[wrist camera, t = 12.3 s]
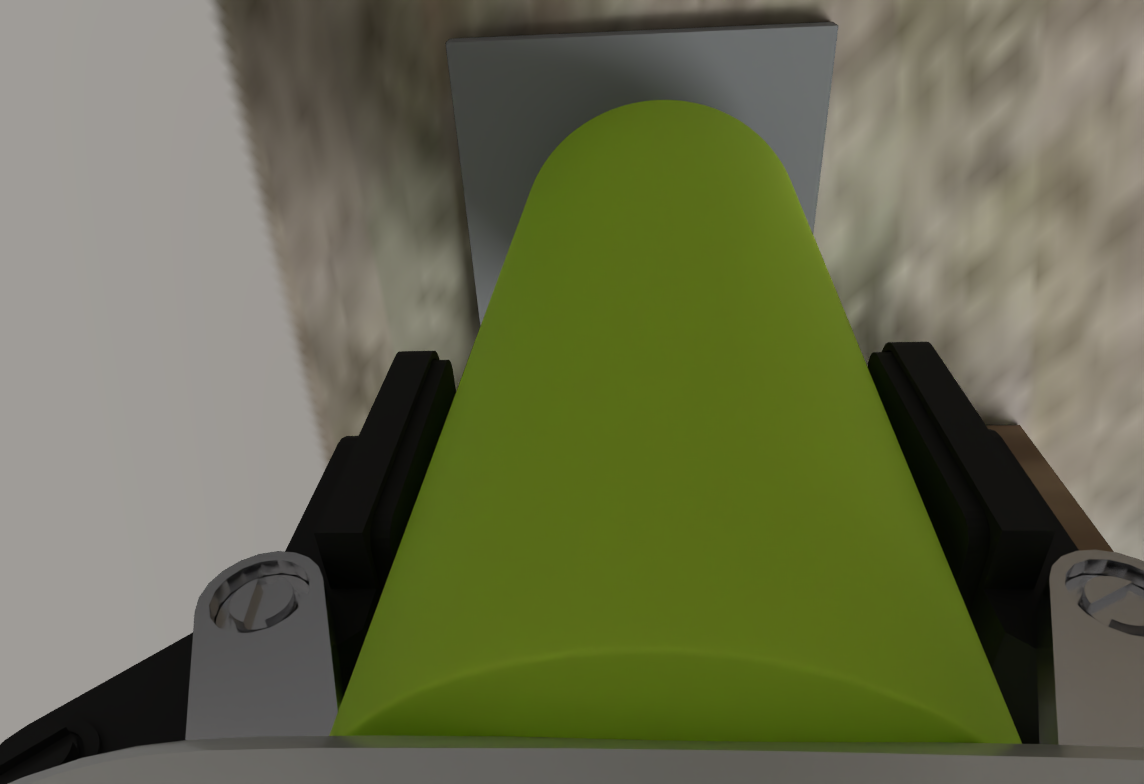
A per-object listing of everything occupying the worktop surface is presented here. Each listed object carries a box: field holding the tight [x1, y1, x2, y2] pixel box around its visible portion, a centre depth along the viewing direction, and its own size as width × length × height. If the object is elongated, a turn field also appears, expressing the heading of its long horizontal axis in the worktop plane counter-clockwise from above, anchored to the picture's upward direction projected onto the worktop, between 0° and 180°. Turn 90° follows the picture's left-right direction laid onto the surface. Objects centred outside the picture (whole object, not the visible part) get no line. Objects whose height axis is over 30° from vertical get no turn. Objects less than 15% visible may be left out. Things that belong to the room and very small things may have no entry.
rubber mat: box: [446, 22, 838, 326], centre depth 19 cm, size 9×8×1 cm
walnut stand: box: [986, 425, 1114, 552], centre depth 23 cm, size 12×12×5 cm
